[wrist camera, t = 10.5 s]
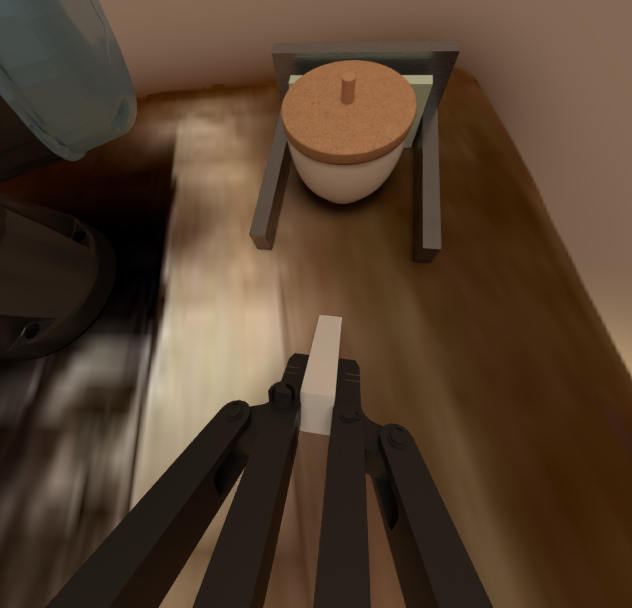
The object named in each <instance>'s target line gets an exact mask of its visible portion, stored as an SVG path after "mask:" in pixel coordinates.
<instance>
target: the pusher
mask: <svg viewBox="0 0 632 608" xmlns="http://www.w3.org/2000/svg"><path fill="white" fill-rule="evenodd" d="M301 76H303V75H290V80H289V88H290V87H291V86H292V85H293V84H294V82H295V81H297V80H298V79H299V78H300V77H301ZM402 76H403V77H404V78H405V79H406V80H407V81H408V82H409V84H410V85H411V87H412V88H413V90H414V93H415V97H416V101H417V109H416V115H415V118H414V121H413V124H412V127H411V129H410V132H409V134H408V135H407V139H406V142H405V144H404V147H403V148H411V146H412V143H413V140H414V137H415V134H416V131H417V128H418V126H419V123H420V120H421V117H422V114H423V111H424V108H425V105H426V102H427V99H428V96H429V93H430V91H431V88H432V85H433V75H402Z"/></svg>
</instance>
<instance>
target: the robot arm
mask: <svg viewBox="0 0 632 608" xmlns="http://www.w3.org/2000/svg"><path fill="white" fill-rule="evenodd" d="M136 115H137V103H136V96H135V91H134V87H133V83H132V80H131V78H130V74H129V71H128V68H127V65H126V63H125V60H124V58H123V55H122V53H121V50H120V48H119V45H118V43H117V41H116V38H115V36H114V34H113V31H112V29H111V27H110V24H109V22H108V20H107V18H106V15H105V13H104V11H103V9H102V7H101V5H100V2H99V0H0V183H1V182H4V181H7V180H10V179H13V178H15V177H18V176H21V175H24V174H27V173H30V172H33V171H36V170H38V169H41V168H44V167H47V166H50V165H53V164H56V163H59V162H61V161H64V160H71V161H76V160H79V159H81V158H82V157H84V156H85V154H86V151H88V150H90V149H93V148H95V147H97V146H100V145H102V144H104V143H107V142H109V141H111V140H114V139H116V138H118V137H121V136H123V135H124V134H126V133H127V132H128V131H129V130H130V129H131V128H132V126H133V125H134V123H135V119H136ZM116 269H117V264H116V256H115V252H114V249H113V247H112V245H111V243H110V242H109V240H108V239H107V238H106V237H105V236H104V235H103V234H102V233H101V232H99V231H97V230H96V229H94V228H93V227H91V226H89V225H88V224H86V223H84V222H83V221H81V220H79V219H77V218H75V217H73V216H71V215H68V214H65V213H62V212H59V211H56V210H52V209H49V208H46V207H43V206H40V205H37V204H34V203H31V202H27V201H24V200H21V199H18V198H15V197H12V196H9V195H6V194H2V193H0V360H29V359H34V358H38V357H41V356H44V355H47V354H49V353H52V352H54V351H56V350H58V349H60V348H61V347H63V346H65V345H66V344H68V343H69V342H71V341H72V340H74V339H75V338H76V337H77V336H79V335H80V334H81V333H82V332H83V331H84V330H85V329H86V328H87V327H88V326H89V325H90V324H91V323H92V322H93V321H94V320H95V318H96V317H97V316H98V315H99V313H100V312H101V310H102V309H103V307H104V305H105V304H106V302H107V300H108V298H109V296H110V294H111V291H112V289H113V285H114V282H115V277H116ZM341 320H342V317H335V316H326V315H320V316H319V320H318V324H317V328H316V332H315V336H314V340H313V344H312V348H311V352H310V355H304V354H297V353H295V354H294V355H293V356H291V357H290V358H289V361H288V363H287V367H286V369H285V372H284V374H283V377H282V380H281V381H280V382H277V383H275V384H274V385H272V386H271V387H270V389H269V390H268V393H269V402H268V403H266V404H262V405H257V406H250V407H249V405H248V404H247V403H246V402H245V401H240V400H237V401H232V402H230V403H227V404H226V405H225V406H224V407H222V408H221V410H220V411H219V412H218V413H217V414H216V415H215V416H214V418H213V419H212V420H211V421H210V422H209V423H208V424H207V425H206V427H205V428H204V429H203V430H202V431H201V432H200V433H199V434H198V436H197V437H196V438H195V439H194V440H193V441H192V442H191V443H190V445H189V446H188V447H187V448H186V449H185V450H184V451H183V453H182V454H181V455H180V456H179V457H178V458H177V459H176V460H175V462H174V463H173V464H172V465H171V466H170V467H169V468H168V469H167V471H166V472H165V473H164V474H163V475H162V476H161V477H160V478H159V480H158V481H157V482H156V483H155V484H154V485H153V486H152V488H151V489H150V490H149V491H148V492H147V493H146V494H145V495H144V497H143V498H142V499H141V500H140V501H139V502H138V503H137V504H136V506H135V507H134V508H133V509H132V510H131V511H130V512H129V513H128V515H127V516H126V517H125V518H124V519H123V520H122V521H121V523H120V524H119V525H118V526H117V527H116V528H115V529H114V530H113V532H112V533H111V534H110V535H109V536H108V537H107V538H106V539H105V541H104V542H103V543H102V544H101V545H100V546H99V547H98V548H97V550H96V551H95V552H94V553H93V554H92V555H91V556H90V558H89V559H88V560H87V561H86V562H85V563H84V564H83V565H82V567H81V568H80V569H79V570H78V571H77V572H76V573H75V574H74V576H73V577H72V578H71V579H70V580H69V581H68V582H67V583H66V585H65V586H64V587H63V588H62V589H61V590H60V591H59V593H58V594H57V595H56V596H55V597H54V598H53V599H52V600H51V602H50V603H49V604H48V605H47V606H46V607H45V608H158V607H159V606H160V604H161V603H162V601H163V599H164V598H165V596H166V594H167V593H168V591H169V590H170V588H171V586H172V585H173V583H174V581H175V580H176V578H177V577H178V575H179V573H180V572H181V570H182V568H183V567H184V565H185V564H186V562H187V560H188V559H189V557H190V556H191V554H192V552H193V551H194V549H195V547H196V546H197V544H198V543H199V541H200V539H201V538H202V536H203V534H204V533H205V531H206V530H207V528H208V526H209V525H210V523H211V521H212V520H213V518H214V517H215V515H216V513H217V512H218V510H219V508H220V507H221V505H222V504H223V502H224V500H225V499H226V497H227V496H228V494H229V492H230V491H231V489H232V487H233V486H234V484H235V483H236V481H237V479H238V478H239V476H240V474H241V473H242V471H243V470H244V472H243V475H242V477H241V480H240V483H239V485H238V488H237V491H236V493H235V496H234V499H233V501H232V504H231V507H230V509H229V512H228V515H227V517H226V520H225V522H224V525H223V528H222V530H221V533H220V536H219V538H218V541H217V544H216V546H215V549H214V552H213V554H212V557H211V560H210V562H209V565H208V568H207V570H206V573H205V576H204V578H203V581H202V584H201V586H200V589H199V592H198V594H197V597H196V600H195V602H194V605H193V607H192V608H263V606H264V602H265V597H266V592H267V587H268V583H269V578H270V573H271V568H272V564H273V559H274V554H275V549H276V544H277V540H278V535H279V530H280V525H281V521H282V516H283V511H284V506H285V501H286V497H287V492H288V487H289V482H290V478H291V473H292V468H293V463H294V459H295V454H296V449H297V444H298V433H299V429H300V431H304V432H310V433H316V434H322V435H328V436H330V438H329V447H328V456H327V468H326V478H325V489H324V499H323V510H322V520H321V531H320V541H319V552H318V562H317V573H316V583H315V594H314V604H313V608H371V602H370V577H369V552H368V527H367V503H366V478H365V472H366V473H367V474H369V475H371V479H372V482H373V486H374V490H375V493H376V497H377V501H378V505H379V508H380V512H381V516H382V519H383V523H384V527H385V531H386V534H387V538H388V542H389V546H390V549H391V553H392V557H393V560H394V564H395V568H396V572H397V575H398V579H399V583H400V586H401V590H402V594H403V598H404V601H405V605H406V608H493V606H492V604H491V602H490V600H489V598H488V596H487V594H486V591H485V589H484V587H483V585H482V583H481V581H480V579H479V577H478V575H477V572H476V570H475V568H474V566H473V564H472V562H471V560H470V558H469V555H468V553H467V551H466V549H465V547H464V545H463V543H462V541H461V539H460V536H459V534H458V532H457V530H456V528H455V526H454V524H453V522H452V519H451V517H450V515H449V513H448V511H447V509H446V507H445V505H444V503H443V500H442V498H441V496H440V494H439V492H438V490H437V488H436V486H435V483H434V481H433V479H432V477H431V475H430V473H429V471H428V469H427V467H426V464H425V462H424V460H423V458H422V456H421V454H420V452H419V450H418V447H417V445H416V443H415V441H414V439H413V437H412V436H411V434H410V433H409V431H407V430H406V429H405V428H404V427H402V426H400V425H398V424H387V425H385V426H384V427H383V426H381V425H379V424H376V423H374V422H373V421H371V420H369V419H368V418H367V417H366V416H365V414H364V413H363V411H362V409H361V400H360V372H359V366H358V364H357V362H356V361H355V360H347V359H339V358H338V356H339V344H340V332H341ZM245 466H246V467H245ZM244 468H245V469H244Z"/></svg>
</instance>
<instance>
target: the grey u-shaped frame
mask: <svg viewBox="0 0 632 608" xmlns="http://www.w3.org/2000/svg"><path fill="white" fill-rule="evenodd" d="M459 52H460V47H459V40H456V41H454V40H453V41H397V42H396V41H392V42H332V43H277V44H276V43H275V44H274V47H273V50H272V59H273V64H274V69H275V74H276V80H277V85H278V90H279V95H280V101H281V106H282V102H283V100H284V97H285V95H286V93H287V91H288V90H289V80H290V75H304V74H306V73H307V72H309V71H311V70H313V69H315V68H317V67H320V66H323V65H325V64H329V63H333V62H338V61H348V60H360V61H369V62H375V63H378V64H381V65H384V66H387V67H389V68H391V69H393V70H395V71H396V72H398V73H399V74H401V75H433V85H432V88H431V91H430V93H429V96H428V99H427V102H426V105H425V108H424V111H423V114H422V117H421V120H420V123H419V126H418V128H417V131H416V134H415V146H414V229H413V262H421V263H430V262H431V261H432V260H433V258H434V257H435V256H436V255H437V254H438V253H439V251H440V250H441V222H440V186H439V150H438V114H437V108H438V105H439V103H440V100H441V98H442V95H443V93H444V90H445V88H446V85H447V82H448V80H449V77H450V75H451V72H452V70H453V67H454V65H455V62H456V59H457V57H458V54H459ZM281 108H282V107H281ZM291 158H292V156H291V153H290V149H289V145H288V141H287V136H286V134H285V131H284V127H283V123H282V118H281V111H280V115H279V119H278V123H277V126H276V130H275V134H274V138H273V142H272V146H271V150H270V154H269V158H268V162H267V166H266V170H265V174H264V178H263V182H262V186H261V190H260V194H259V198H258V202H257V206H256V210H255V214H254V218H253V222H252V226H251V230H250V234H249V235H250V237H251V238H252V240H253V242H254V243H255V245H256V247H257V248H258V249H266V250H272V247H273V242H274V237H275V233H276V228H277V223H278V219H279V214H280V209H281V205H282V200H283V195H284V191H285V186H286V181H287V177H288V172H289V167H290V163H291Z"/></svg>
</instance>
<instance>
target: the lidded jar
mask: <svg viewBox="0 0 632 608" xmlns="http://www.w3.org/2000/svg"><path fill="white" fill-rule="evenodd" d="M416 109H417V101H416V97H415V93H414V90H413V88H412V87H411V85H410V84H409V82H408V81H407V80H406V79H405V78H404V77H403V76H402V75H401V74H399V73H398V72H396V71H395V70H393V69H391V68H389V67H387V66H384V65H381V64H378V63H375V62H369V61H360V60H348V61H338V62H333V63H329V64H325V65H323V66H320V67H317V68H315V69H313V70H311V71H309V72H307V73H306V74H304V75H303V76H301V77H300V78H299V79H298V80H297V81H295V82H294V84H293V85H292V86H291V87H290V88H289V90H288V91H287V93H286V95H285V97H284V100H283V102H282V108H281V118H282V123H283V127H284V131H285V134H286V136H287V141H288V145H289V149H290V153H291V156H292V159H293V162H294V165H295V167H296V169H297V172H298V174H299V176H300V177H301V179H302V180H303V182H304V183H305V184H306V186H307V187H308V188H309V189H310V190H312V191H313V192H314V193H315V194H317V195H318V196H320V197H322V198H324V199H326V200H328V201H330V202H333V203H337V204H348V203H352V202H355V201H358V200H360V199H362V198H365V197H366V196H368V195H370V194H371V193H373V192H374V191H375V190H377V189H378V188H379V187H380V186H381V185H382V184H383V183H384V182H385V181H386V179H387V178H388V177H389V175H390V174H391V172H392V171H393V169H394V167H395V165H396V164H397V161H398V159H399V157H400V155H401V152H402V150H403V147H404V144H405V142H406V139H407V135H408V134H409V132H410V129H411V127H412V124H413V121H414V118H415V115H416Z"/></svg>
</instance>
